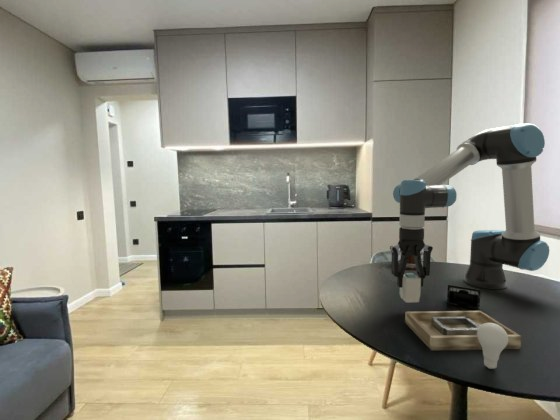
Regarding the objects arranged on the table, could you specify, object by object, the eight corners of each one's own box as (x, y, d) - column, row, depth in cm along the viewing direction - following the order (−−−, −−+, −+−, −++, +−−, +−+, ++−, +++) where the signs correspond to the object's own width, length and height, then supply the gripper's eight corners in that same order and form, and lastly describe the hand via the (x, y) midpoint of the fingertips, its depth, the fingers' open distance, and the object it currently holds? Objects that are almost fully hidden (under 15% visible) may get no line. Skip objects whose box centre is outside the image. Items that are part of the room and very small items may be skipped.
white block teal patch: (413, 296, 107) (413, 271, 106) (419, 302, 103) (420, 276, 102) (400, 297, 107) (401, 272, 106) (406, 302, 103) (406, 276, 102)
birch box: (479, 321, 99) (480, 310, 98) (520, 348, 83) (521, 336, 83) (405, 322, 98) (405, 311, 98) (431, 350, 82) (432, 337, 82)
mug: (395, 268, 156) (397, 238, 157) (399, 266, 169) (401, 238, 169) (421, 271, 151) (423, 240, 151) (423, 269, 163) (425, 240, 164)
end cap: (479, 305, 111) (480, 287, 111) (479, 313, 105) (481, 293, 105) (447, 300, 116) (448, 282, 116) (446, 306, 110) (447, 288, 110)
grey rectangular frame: (466, 322, 96) (466, 316, 96) (484, 336, 87) (485, 329, 87) (429, 323, 95) (429, 316, 95) (444, 337, 87) (445, 330, 87)
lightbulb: (469, 361, 77) (471, 318, 76) (492, 360, 78) (495, 317, 77) (487, 376, 71) (490, 330, 70) (512, 375, 72) (516, 329, 71)
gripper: (432, 224, 106) (429, 291, 109) (381, 226, 106) (380, 292, 108) (444, 228, 99) (441, 299, 101) (389, 229, 98) (388, 301, 101)
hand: (409, 296), depth 105 cm, fingers closed on white block teal patch, 4 cm apart
